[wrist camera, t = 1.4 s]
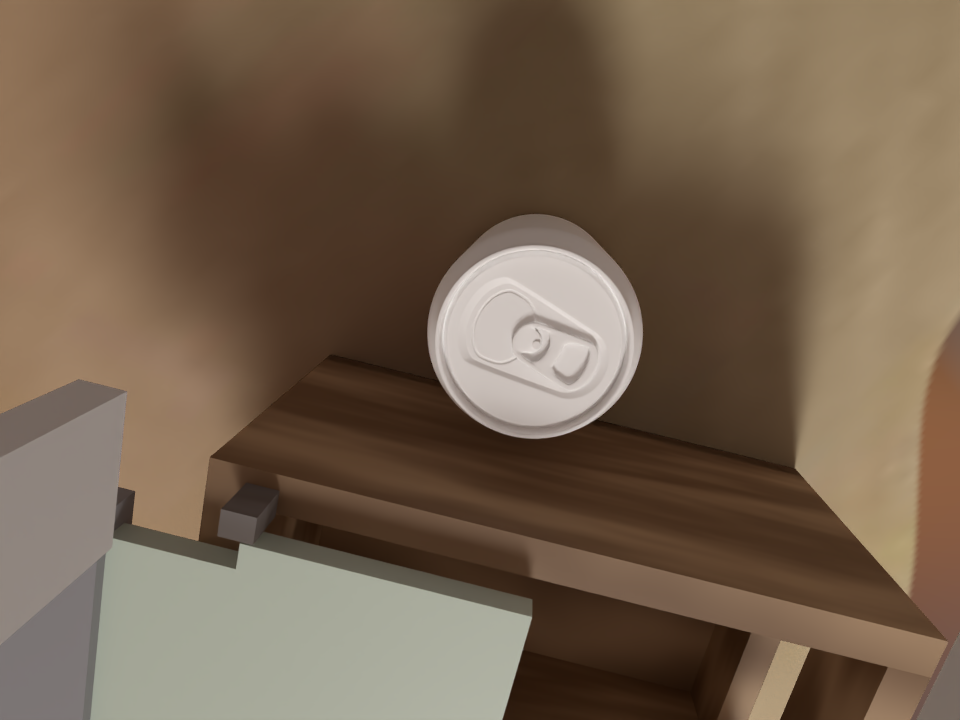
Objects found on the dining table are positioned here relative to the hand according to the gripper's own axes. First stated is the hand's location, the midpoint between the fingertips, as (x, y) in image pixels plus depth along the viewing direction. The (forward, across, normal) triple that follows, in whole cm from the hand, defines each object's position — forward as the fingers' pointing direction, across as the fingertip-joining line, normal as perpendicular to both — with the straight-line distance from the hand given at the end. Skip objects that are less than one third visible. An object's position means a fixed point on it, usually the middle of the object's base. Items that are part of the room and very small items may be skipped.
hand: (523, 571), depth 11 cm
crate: (+26, +3, -14) cm, 30 cm away
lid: (+12, -7, -14) cm, 20 cm away
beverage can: (+27, 0, 0) cm, 27 cm away
